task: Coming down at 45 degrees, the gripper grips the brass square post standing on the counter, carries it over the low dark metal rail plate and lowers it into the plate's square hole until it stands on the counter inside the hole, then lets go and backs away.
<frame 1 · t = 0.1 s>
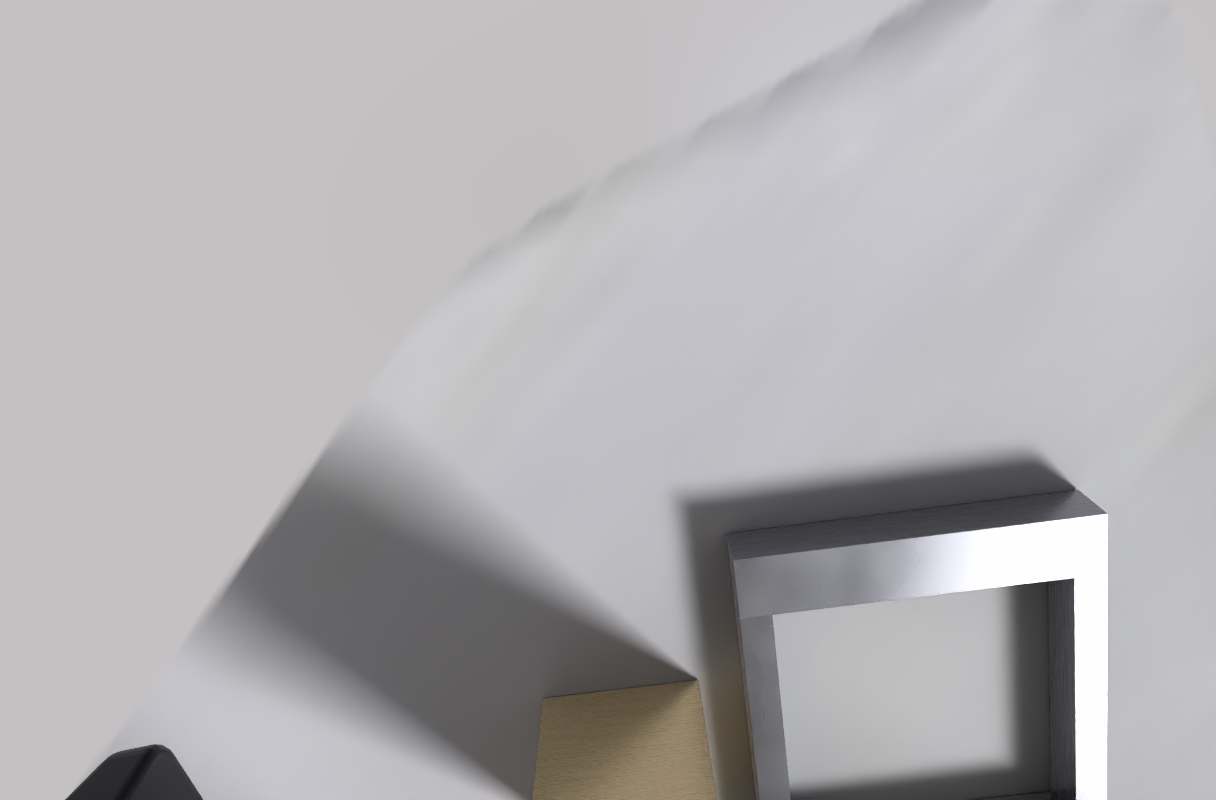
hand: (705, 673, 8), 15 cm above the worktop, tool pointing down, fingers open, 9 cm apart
rail plate: (911, 691, 26), on the worktop
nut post: (630, 755, 26), on the worktop
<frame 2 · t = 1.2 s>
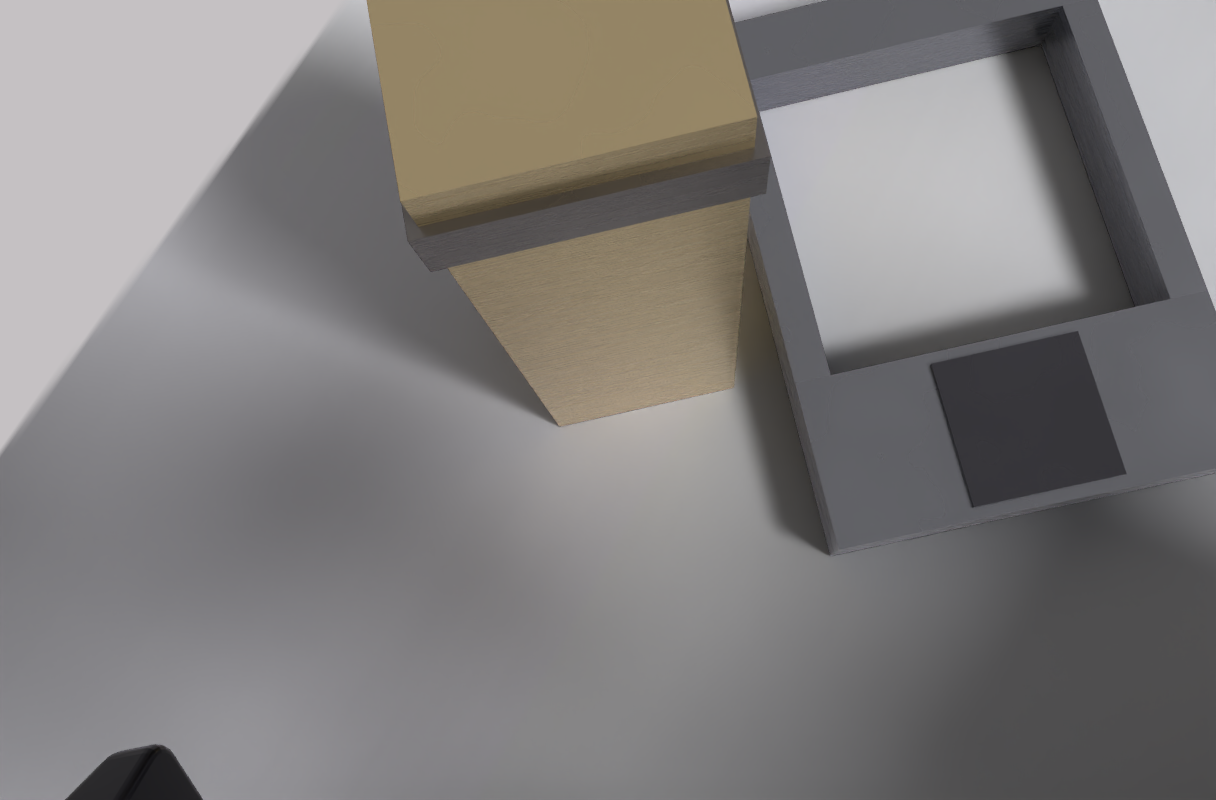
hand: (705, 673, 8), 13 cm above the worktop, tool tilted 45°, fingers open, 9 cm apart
rail plate: (935, 213, 23), on the worktop
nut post: (628, 324, 23), on the worktop
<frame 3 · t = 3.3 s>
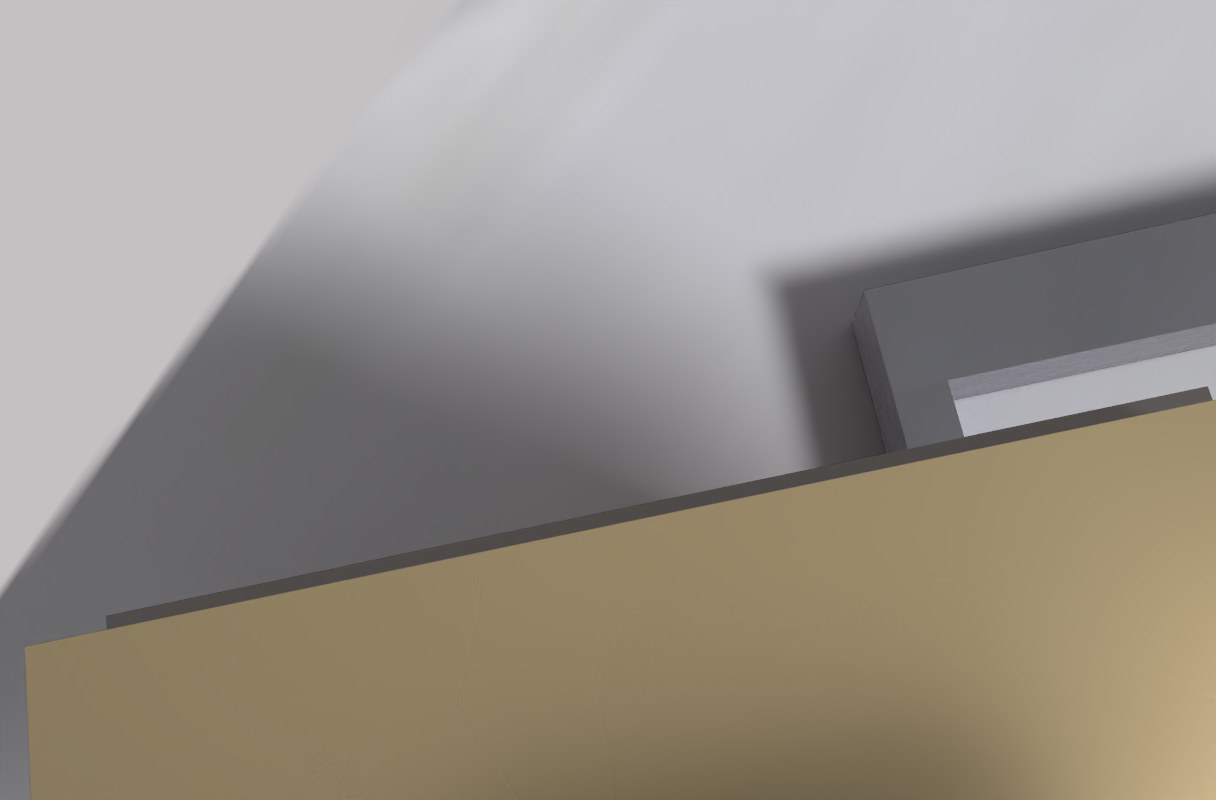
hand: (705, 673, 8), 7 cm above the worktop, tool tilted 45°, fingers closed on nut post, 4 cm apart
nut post: (736, 762, 14), on the worktop, touching gripper
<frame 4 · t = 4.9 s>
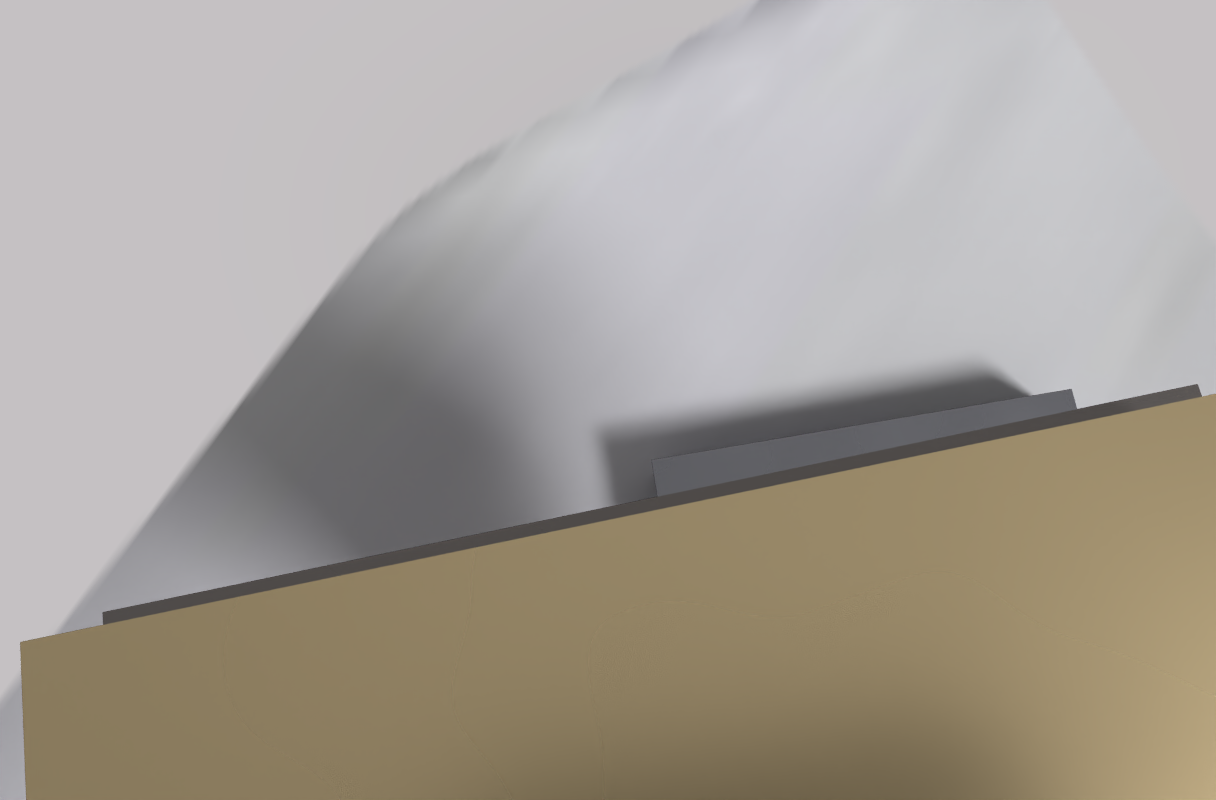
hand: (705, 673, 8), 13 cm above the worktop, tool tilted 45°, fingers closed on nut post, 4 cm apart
rail plate: (900, 675, 21), on the worktop
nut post: (734, 762, 14), point 7 cm above the worktop, touching gripper
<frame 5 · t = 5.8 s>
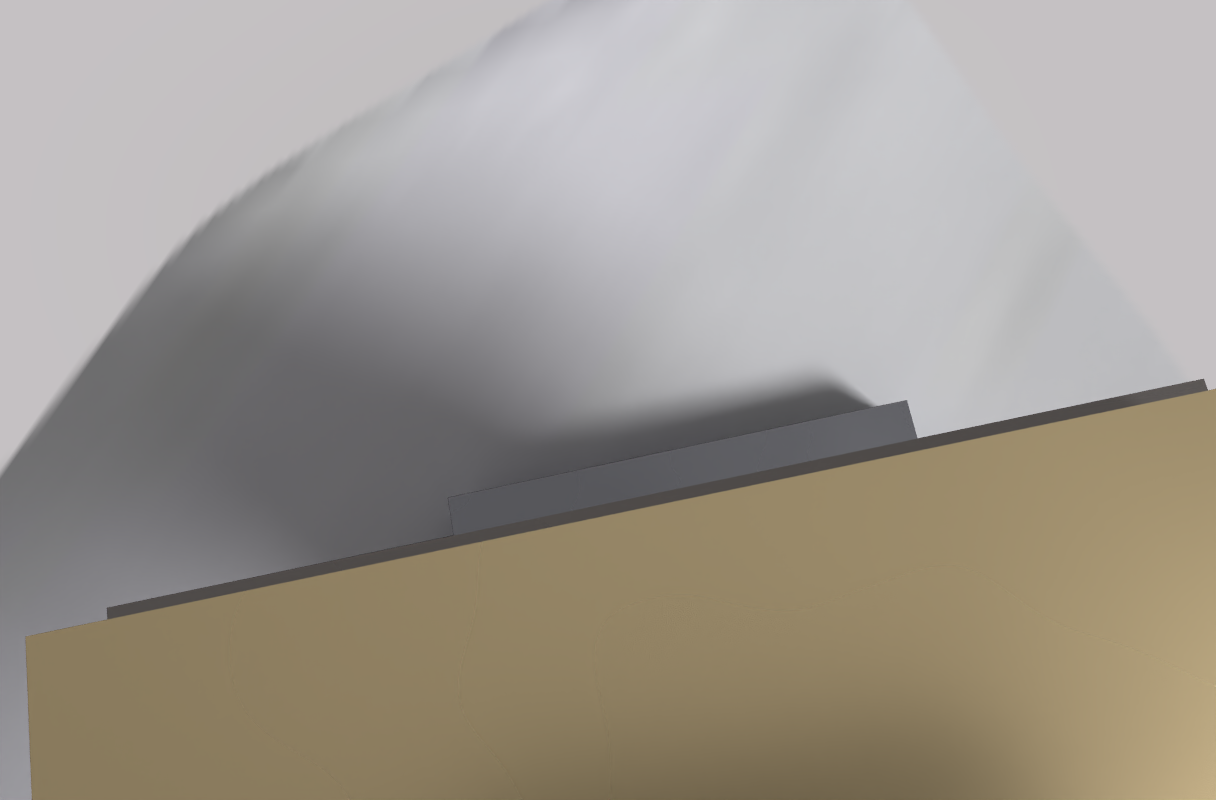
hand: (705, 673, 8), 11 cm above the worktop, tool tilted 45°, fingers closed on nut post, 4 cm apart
rail plate: (734, 726, 19), on the worktop
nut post: (736, 761, 14), point 4 cm above the worktop, touching gripper
when the fingers open (9 cm above the worktop, at t = 6.6 s): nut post drops 2 cm, resting in rail plate.
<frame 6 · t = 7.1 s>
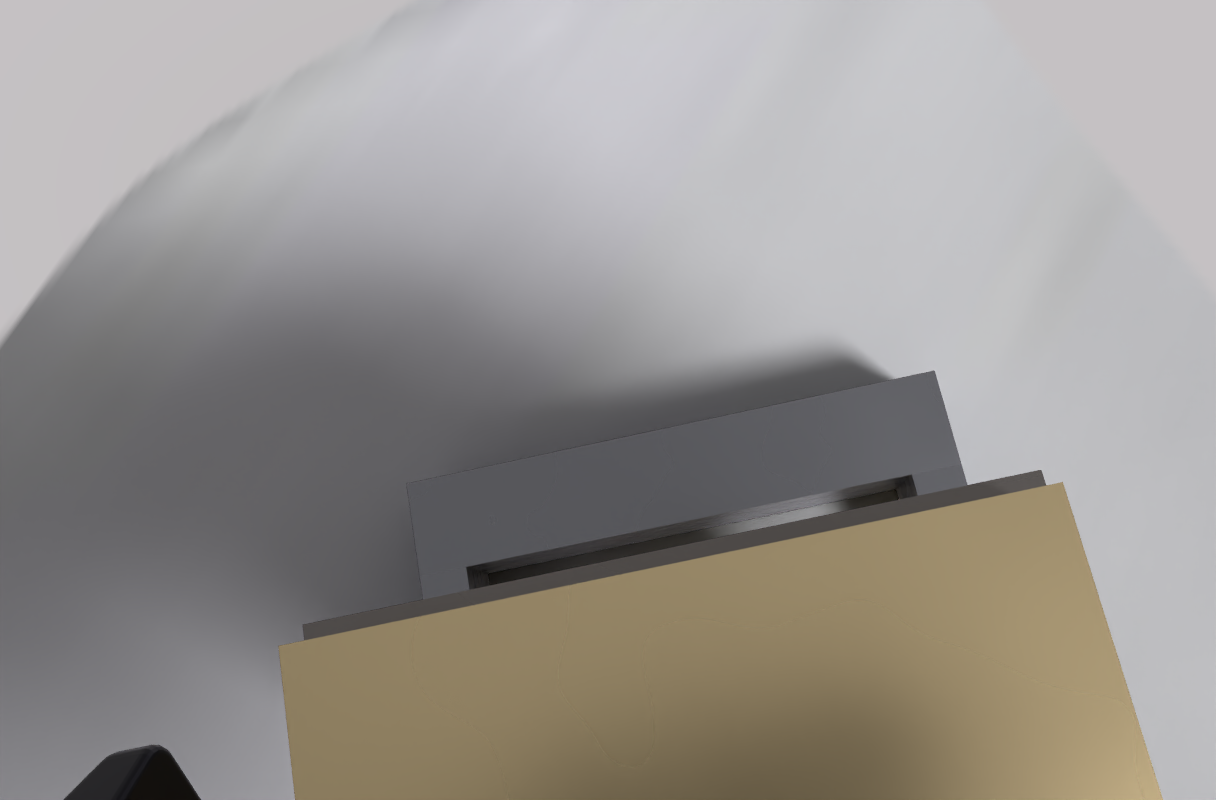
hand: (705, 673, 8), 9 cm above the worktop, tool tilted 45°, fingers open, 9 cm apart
rail plate: (735, 747, 16), on the worktop
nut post: (734, 745, 16), resting in rail plate
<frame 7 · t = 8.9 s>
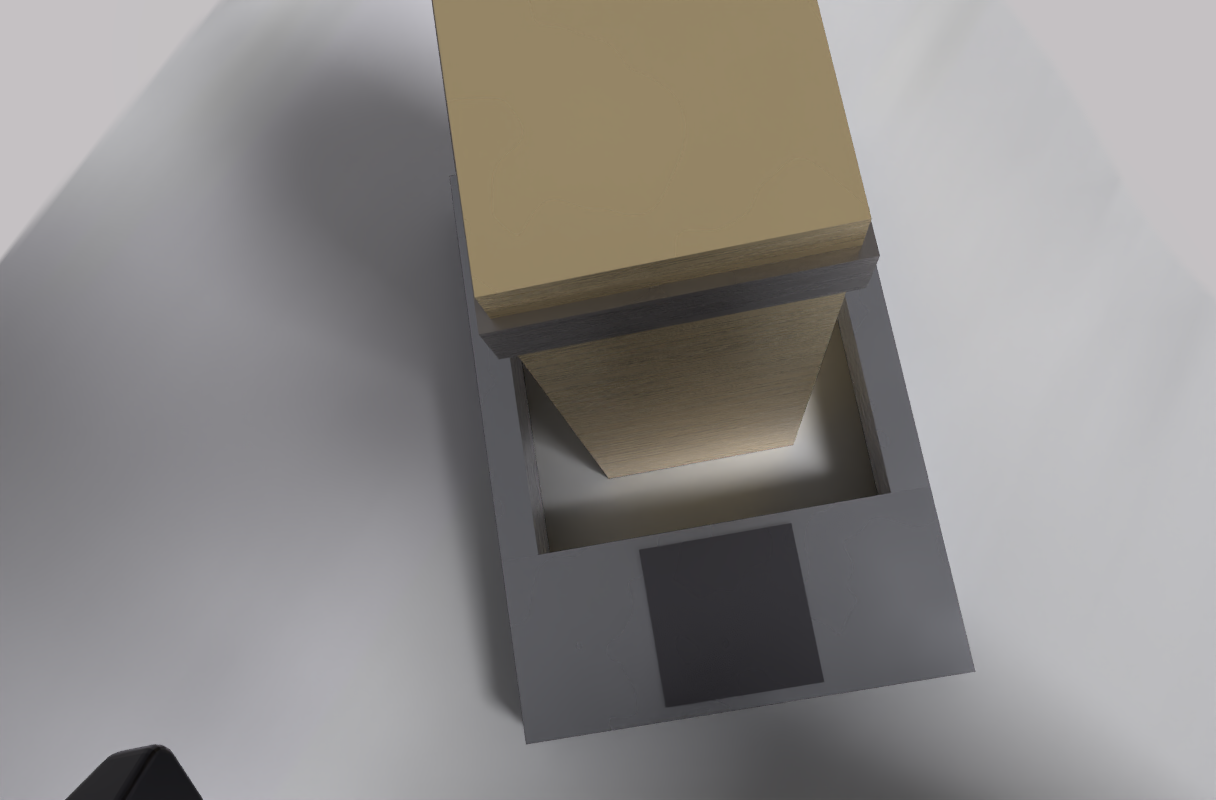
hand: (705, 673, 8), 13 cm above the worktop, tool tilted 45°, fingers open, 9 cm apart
rail plate: (683, 373, 22), on the worktop
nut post: (683, 373, 22), resting in rail plate
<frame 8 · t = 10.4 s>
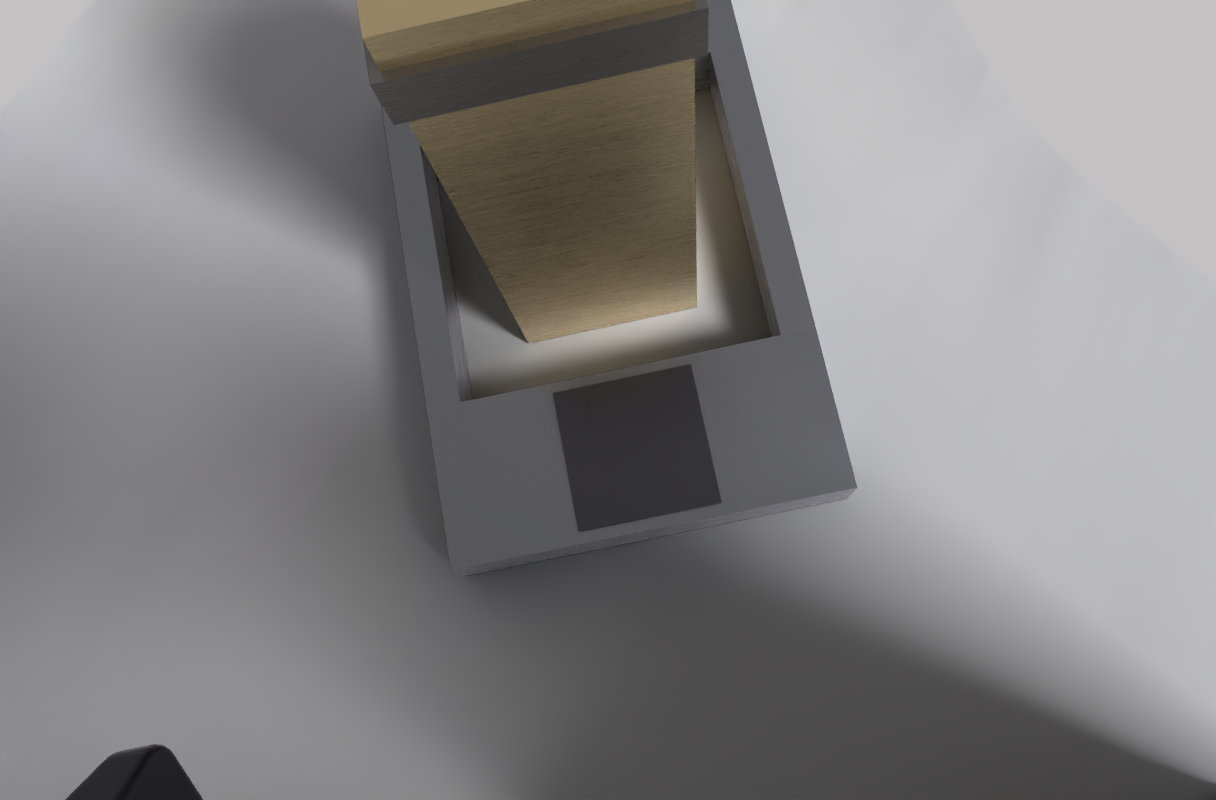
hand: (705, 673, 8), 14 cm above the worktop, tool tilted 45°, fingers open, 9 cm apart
rail plate: (596, 247, 24), on the worktop
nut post: (596, 247, 24), resting in rail plate
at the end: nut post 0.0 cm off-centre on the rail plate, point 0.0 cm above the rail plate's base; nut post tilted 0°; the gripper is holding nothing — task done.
